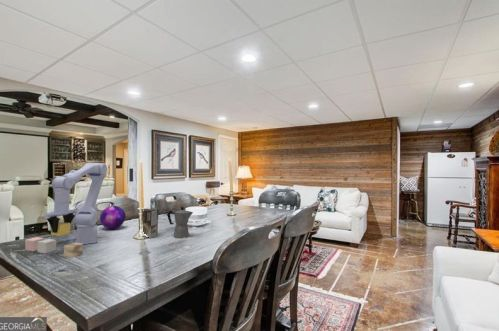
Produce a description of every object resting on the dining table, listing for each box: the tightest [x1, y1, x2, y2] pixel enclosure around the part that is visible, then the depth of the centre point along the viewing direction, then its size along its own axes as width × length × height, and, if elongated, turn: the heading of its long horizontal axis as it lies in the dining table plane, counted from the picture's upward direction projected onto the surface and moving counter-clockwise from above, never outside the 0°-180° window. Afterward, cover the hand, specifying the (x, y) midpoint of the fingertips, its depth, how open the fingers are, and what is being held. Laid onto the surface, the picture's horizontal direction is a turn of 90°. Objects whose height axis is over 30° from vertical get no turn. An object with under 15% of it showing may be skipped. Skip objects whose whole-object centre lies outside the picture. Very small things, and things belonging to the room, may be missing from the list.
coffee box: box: [138, 208, 159, 239], centre depth 151 cm, size 9×6×16 cm
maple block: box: [63, 242, 84, 259], centre depth 116 cm, size 5×5×5 cm
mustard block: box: [50, 221, 71, 237], centre depth 118 cm, size 5×5×5 cm
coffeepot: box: [166, 206, 194, 239], centre depth 153 cm, size 15×9×18 cm, turn 103°
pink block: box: [24, 236, 45, 252], centre depth 122 cm, size 5×5×5 cm
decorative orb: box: [99, 205, 127, 230], centre depth 166 cm, size 15×15×15 cm
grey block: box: [36, 238, 57, 254], centre depth 120 cm, size 5×5×5 cm
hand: (60, 231), depth 118 cm, fingers closed on mustard block, 5 cm apart
